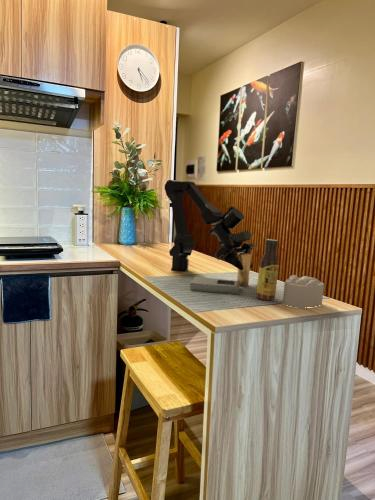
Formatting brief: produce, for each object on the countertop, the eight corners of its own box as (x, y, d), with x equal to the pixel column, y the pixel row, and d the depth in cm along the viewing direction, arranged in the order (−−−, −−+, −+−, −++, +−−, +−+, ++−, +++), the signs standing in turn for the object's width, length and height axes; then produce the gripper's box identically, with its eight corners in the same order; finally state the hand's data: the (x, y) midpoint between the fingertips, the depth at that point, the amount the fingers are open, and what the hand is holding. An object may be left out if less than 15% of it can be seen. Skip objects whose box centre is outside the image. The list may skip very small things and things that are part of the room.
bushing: (236, 285, 139) (239, 254, 137) (237, 283, 143) (239, 252, 142) (248, 287, 138) (251, 255, 137) (248, 284, 143) (251, 253, 141)
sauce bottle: (263, 301, 120) (269, 241, 117) (252, 296, 125) (257, 238, 122) (279, 300, 123) (285, 240, 120) (267, 295, 128) (272, 238, 125)
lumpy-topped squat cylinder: (326, 305, 120) (329, 279, 119) (300, 310, 113) (303, 283, 111) (300, 297, 128) (302, 272, 127) (274, 301, 121) (276, 275, 120)
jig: (190, 289, 130) (190, 282, 129) (194, 283, 139) (194, 276, 139) (238, 294, 127) (239, 287, 127) (239, 287, 137) (240, 281, 136)
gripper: (224, 223, 133) (247, 258, 128) (252, 222, 147) (274, 254, 141) (205, 242, 140) (227, 276, 134) (234, 239, 153) (255, 270, 148)
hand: (247, 268), depth 139 cm, fingers open, 6 cm apart
